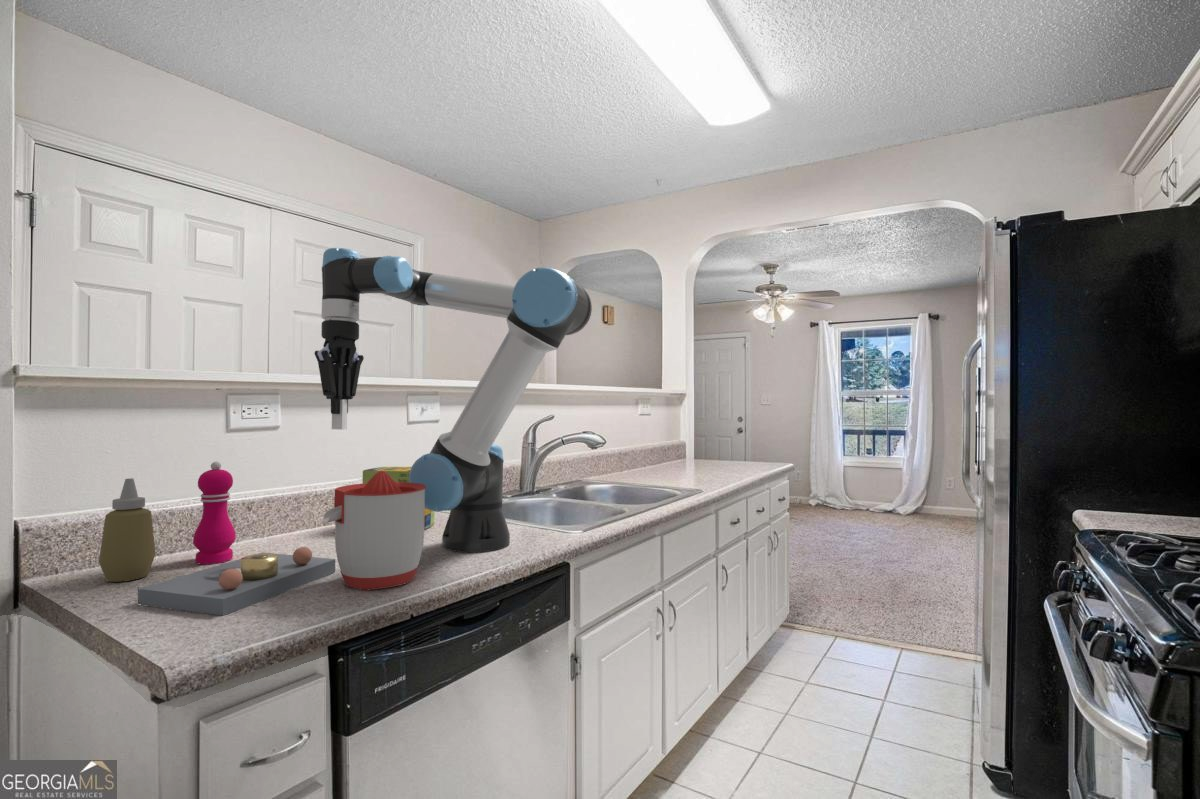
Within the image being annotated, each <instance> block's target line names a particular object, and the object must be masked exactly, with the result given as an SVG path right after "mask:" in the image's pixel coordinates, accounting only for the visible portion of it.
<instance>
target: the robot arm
mask: <svg viewBox="0 0 1200 799" xmlns="http://www.w3.org/2000/svg"><path fill="white" fill-rule="evenodd" d="M322 256H323V257H322V265H321V279H322V280H321V281H322V284H321V285H322V297H321V316H320V317H321V319H322V320H323V321H322V322H321V338H323V339H324V343H323V348H321V349H320V350H315V351H314V356H315V358H316V361H317V364H318V370H319V376H320V383H321V389H322V395H323V396H324V397H325V399H327V400H330V414H331V430H338V431H339V430H347V429H348V414H349V400H353V398H354V397H355V396H356V395H357V387H358V383H359V377H360V376H359V375H360V372H361V371H360V370H361V366H362V363H363V361H364V358H365V357H364V355H362V354H359V353H358V352H357V347H356V341H358V340H359V339H360V324H359V323H358V321H359V320H360V299H361V297H360V296H361V295H362V294H363V295H364V294H382V295H385V296H387V297H392V298H395V299H399V300H401V301H405V302H408V303H410V304H412V305H417V306H425V307H426V306H432V307H437V308H444V309H449V310H455V311H460V312H467V313H472V314H478V315H484V316H491V317H497V318H504V319H505V320H506V323H507V324H506V325H507V328H508V330H507V334H506V335H505V337H504V339H502V340H503V341H502V342H501V344H500V346H499V347H498V348H497V351H496V353H495V354H494V356H493V358H492V359H491V361H490V363H489V365H488V366H487V368H486V370H485V371H484V374H483V375H482V377H481V379H480V380H479V382H478V384H477V386H476V387H475V389H474V391H473V393H472V394H471V395H470V398H469V399H468V401H467V403H466V405H465V406H464V408H463V410H462V411H461V413H460V415H459V416H458V418H457V420H456V422H455V424H454V425H453V427H452V429H451V431H449V432H445V433H441V434H440V435H439V436H438V438H437V440H436V441H435V443H434V445H433V446H432V448H431V450H430V452H429V453H426V454H423V455H421V456H419V458H417V459H416V460H415V462H414V463H413V464H412V465H411V466H410V467H411V470H410V474H409V483H419V484H423V485H426V489H425V508H426V509H428V510H431V511H435V512H443V511H450V512H449V515H448V517H447V520H446V524H445V527H444V530H443V532H442V537H441V540H442V541H441V546H442V548H444V549H446V550H449V551H453V552H460V553H461V552H464V553H465V552H466V553H475V552H476V553H479V552H489V551H496V550H500V549H503V548H505V547H509V545H510V543H511V542H510V541H511V538H510V536H511V535H510V534H511V533H510V529H509V527H508V524H507V521H506V518H505V514H504V510H503V494H504V493H503V490H504V486H503V485H504V481H503V480H504V462H505V460H504V453H503V448H502V447H501V446H500V445H498V444H494V442H495V441H496V439H497V438H498V435H499V434H500V432H502V431H501V430H502V429H503V427H504V425H505V424H506V422H507V420H508V419H509V416H511V413H512V412H513V410H514V408H515V407H516V405H517V403H518V401H519V400H520V398H521V396H522V394H523V393H524V391H525V390H526V388H527V386H528V385H529V383H530V381H531V380H532V377H533V376H534V375H535V373H536V372H537V369H538V367H539V365H540V364H541V362H542V360H543V359H544V357H545V356H546V355H547V353H549V352H552V351H556V350H558V349H559V347H560V345H561V344H562V341H563V340H564V339H565V337H566V336H571V335H574V334H577V333H579V332H580V331H582V330H583V329H584V327H586V325H588V323H589V321H590V319H591V316H592V312H593V311H592V310H593V308H592V301H591V298H590V295H589V293H588V292H587V290H586V289H585V288H584V287H583V286H581V284H579V283H578V282H576V281H575V280H574V279H572V278H571V276H569V275H568V274H566V273H565V272H562V271H560V270H559V269H556V268H552V267H547V266H545V267H537V268H533V269H531V270H529V271H527V272H525V273H524V274H523V275H522V276H521V277H520V278H519V279H518V280H517V282H516V284H514V285H513V284H509V283H502V282H501V283H500V282H494V281H493V282H492V281H487V280H482V279H481V280H480V279H473V278H465V277H458V276H452V275H446V274H439V273H432V272H426V271H421V270H416V269H413V268H412V266H411V264H410V263H409V262H408V260H407V259H406V258H405V257H403V256H392V255H386V256H377V257H375V256H373V257H364V258H362V257H361V255H360V254H359V252H357V251H356V250H354V249H350V248H345V247H344V248H343V247H342V248H340V247H331V248H328V249H326V250H324V252H323V255H322Z"/></svg>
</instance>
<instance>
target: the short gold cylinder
mask: <svg viewBox="0 0 1200 799" xmlns="http://www.w3.org/2000/svg"><path fill="white" fill-rule="evenodd" d="M260 553H261V554H259V553H256V554H250V555H245V556H243V557H241V558H240V559H241V570H240V572H241V573H242V576H243V579H246V580H255V579H264V578H268V577H272V576H275V575H276V574H278V555H277V554H278V553H275V554H274V553H272V552H264V553H262V552H260Z"/></svg>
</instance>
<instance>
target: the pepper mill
mask: <svg viewBox="0 0 1200 799" xmlns="http://www.w3.org/2000/svg"><path fill="white" fill-rule="evenodd" d="M221 467H222V464H221V462H219V461H214V462H212V463H211V464H210V469H208V470H206V471H203V473H201V474H200V475H199V477H198V479H197V487H198V489H199V491H201V492H202V494H200V498H201V499H200V502H202V507H203V508H202V515H201V519H200V521H199V524H198V525H197V528H196V530H195V531H194V534H193V540H192V542H193V543H192V544H193V546H194V547H195V548H196V549H197V550H198V552H196V553H195V564H198V563H200V564H199V565H213V564H212V563H216V564H221V562H222V563H227V562H228V561H229V562H230V561H231V560H232V559H233V558H234V556H233V552H234V551H233V549H232V548H231V547H232V546H233V544H234V543H235V542H236V539H237V535H236V530H235V527H234V525H233V524H232V521H231V520H230V517H229V513H228V501H229V500H230V499H231V498H230V495H231V492H229V491H230V489H231V488H232V487H233V484H234V479H233V475H232V474H231V472H229V471H227V470H225V469H221Z"/></svg>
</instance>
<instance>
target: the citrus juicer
mask: <svg viewBox="0 0 1200 799" xmlns="http://www.w3.org/2000/svg"><path fill="white" fill-rule="evenodd" d="M425 489H426V485H423V484H419V483H409V482H395V481H394V480H393V479H392V478H391V477H390V476H389V475H388V474H387V473H386V472H384V471H382V470H381V471H379V472H378V473H376V474H375V475H374V476H373V477H372V478H371V479H370V480H369V482H368V483H363V482H362V483H357V484H356V483H355V484H354V483H353V484H348V485H342V486H338V487H336V488H335V489H334V500H333V501H334V503H333V505H334V506H333V508H331V509H329V510H327V511H326V512H325V513H324V516H323V519H322V521H323V523H324V524H328V523H331V522H334V523H335V524H334V525H335V526H334V531H335V532H334V540H335V541H334V544H335V546H334V547H335V553H336V560H337V563H338V566H339V570H340V575H341V577H342V579H343V581H344V583H345V585H346V586H347V587H351V588H354V589H359V590H361V591H364V590H366V591H371V589H372V590H376V589H385V588H392V587H397V586H401V585H405V584H404V583H407V582H408V583H410V581H412V580H413V579H414V578H415V575H416V573H417V571H418V569H419V563H420V560H421V557H422V553H423V546H424V539H425V531H424V509H425ZM408 583H407V584H408Z"/></svg>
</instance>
